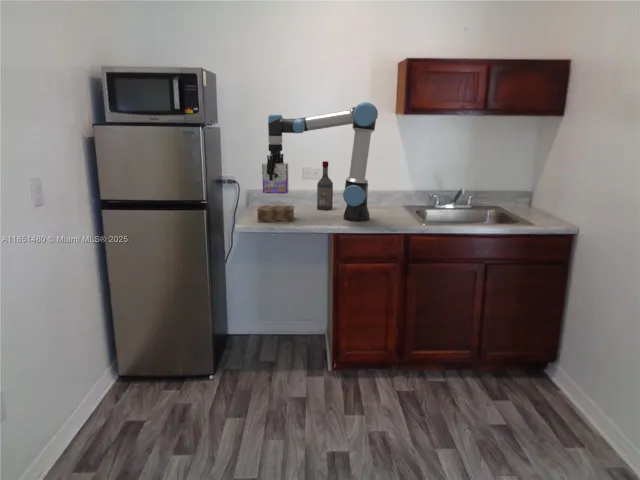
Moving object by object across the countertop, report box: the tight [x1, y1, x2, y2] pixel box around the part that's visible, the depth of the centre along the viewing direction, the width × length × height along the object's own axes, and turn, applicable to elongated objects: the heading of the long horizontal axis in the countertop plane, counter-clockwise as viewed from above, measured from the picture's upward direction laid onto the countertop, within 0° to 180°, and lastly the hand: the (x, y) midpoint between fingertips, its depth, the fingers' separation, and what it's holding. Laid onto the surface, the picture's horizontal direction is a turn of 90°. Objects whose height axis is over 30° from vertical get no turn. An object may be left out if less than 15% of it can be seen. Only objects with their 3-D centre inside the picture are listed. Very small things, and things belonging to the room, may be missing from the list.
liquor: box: [316, 160, 334, 211], centre depth 304 cm, size 9×9×30 cm
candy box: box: [261, 162, 289, 195], centre depth 268 cm, size 14×6×16 cm, turn 84°
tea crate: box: [256, 204, 295, 224], centre depth 273 cm, size 20×14×7 cm
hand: (275, 185), depth 269 cm, fingers closed on candy box, 7 cm apart
